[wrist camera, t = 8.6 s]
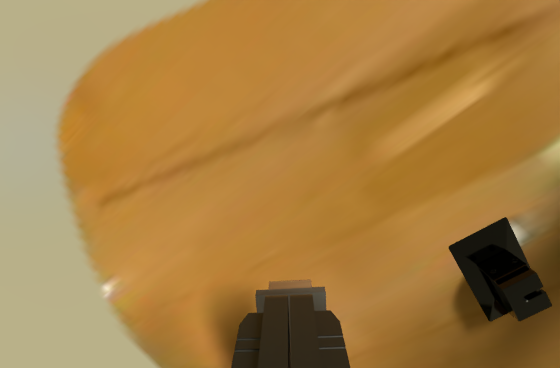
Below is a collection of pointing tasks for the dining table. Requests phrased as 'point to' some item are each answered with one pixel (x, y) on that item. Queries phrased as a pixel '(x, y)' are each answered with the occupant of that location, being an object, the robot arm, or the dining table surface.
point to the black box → (500, 273)
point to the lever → (292, 293)
